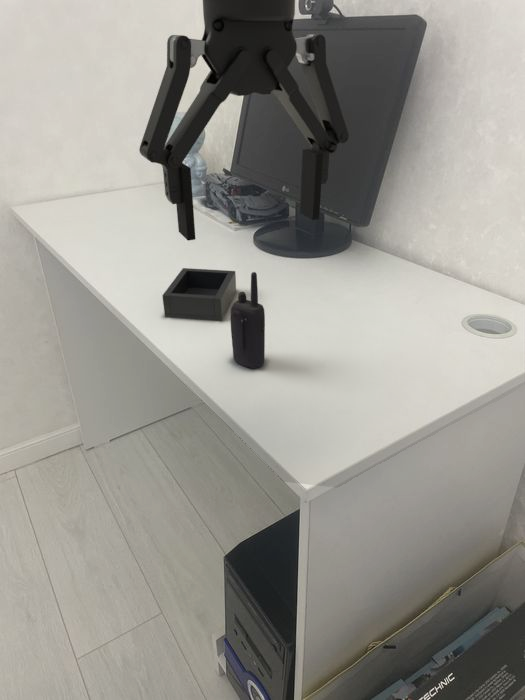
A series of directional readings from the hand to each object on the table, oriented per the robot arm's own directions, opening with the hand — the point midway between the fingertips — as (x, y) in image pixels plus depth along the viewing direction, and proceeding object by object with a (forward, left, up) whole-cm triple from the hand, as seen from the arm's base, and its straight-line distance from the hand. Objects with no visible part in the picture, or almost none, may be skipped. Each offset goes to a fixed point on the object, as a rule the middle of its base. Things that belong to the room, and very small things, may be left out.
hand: (251, 225), depth 52 cm
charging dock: (-16, +34, -27) cm, 46 cm away
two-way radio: (-4, +15, -27) cm, 31 cm away
